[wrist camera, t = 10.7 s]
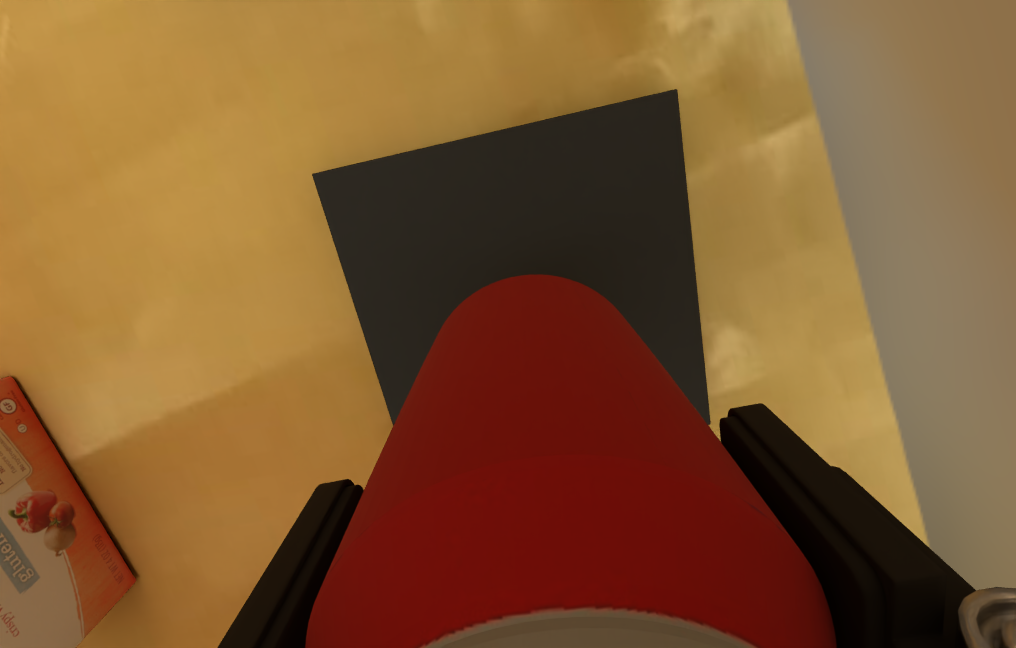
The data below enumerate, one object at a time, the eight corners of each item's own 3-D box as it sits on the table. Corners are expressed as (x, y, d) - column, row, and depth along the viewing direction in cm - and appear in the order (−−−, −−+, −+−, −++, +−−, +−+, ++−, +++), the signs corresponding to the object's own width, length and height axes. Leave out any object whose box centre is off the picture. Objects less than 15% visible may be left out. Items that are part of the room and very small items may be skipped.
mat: (671, 91, 21) (677, 88, 20) (705, 417, 25) (710, 424, 25) (318, 173, 22) (311, 174, 21) (413, 470, 27) (410, 479, 26)
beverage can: (411, 427, 17) (193, 982, 5) (461, 240, 15) (285, 484, 3) (595, 476, 17) (756, 1075, 6) (667, 301, 15) (1126, 695, 4)
